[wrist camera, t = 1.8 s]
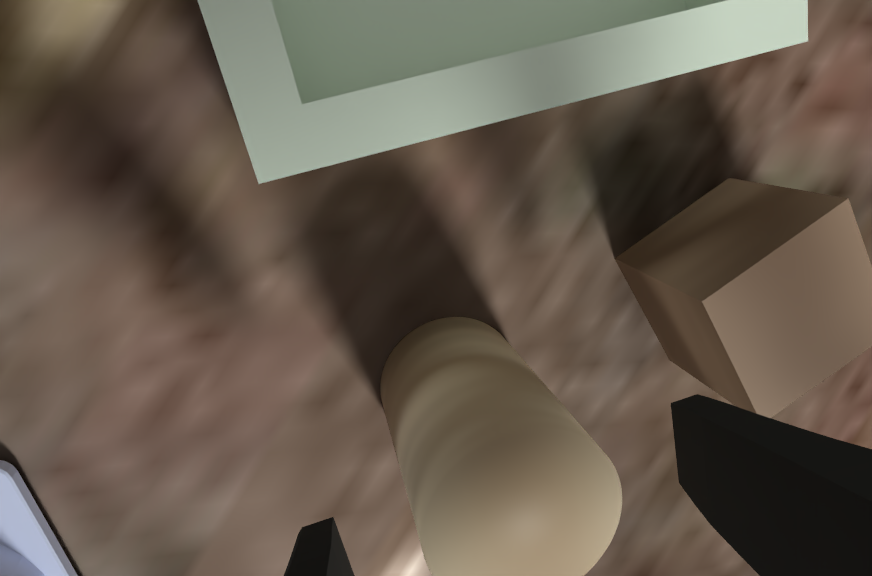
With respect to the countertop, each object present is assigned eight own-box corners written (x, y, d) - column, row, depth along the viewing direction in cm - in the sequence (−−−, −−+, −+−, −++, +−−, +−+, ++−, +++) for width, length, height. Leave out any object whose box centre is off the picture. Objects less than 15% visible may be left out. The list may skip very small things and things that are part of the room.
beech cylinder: (400, 462, 17) (448, 636, 12) (363, 341, 16) (398, 471, 10) (527, 420, 18) (632, 566, 12) (502, 299, 16) (608, 400, 11)
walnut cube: (667, 358, 18) (762, 424, 14) (612, 257, 17) (702, 301, 13) (772, 284, 18) (893, 330, 15) (727, 177, 17) (848, 198, 13)
